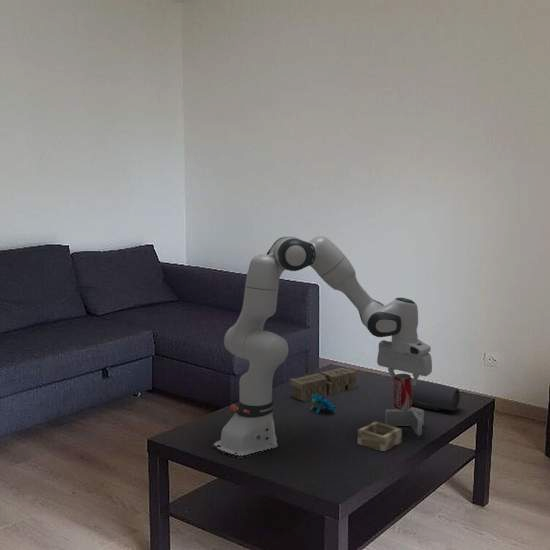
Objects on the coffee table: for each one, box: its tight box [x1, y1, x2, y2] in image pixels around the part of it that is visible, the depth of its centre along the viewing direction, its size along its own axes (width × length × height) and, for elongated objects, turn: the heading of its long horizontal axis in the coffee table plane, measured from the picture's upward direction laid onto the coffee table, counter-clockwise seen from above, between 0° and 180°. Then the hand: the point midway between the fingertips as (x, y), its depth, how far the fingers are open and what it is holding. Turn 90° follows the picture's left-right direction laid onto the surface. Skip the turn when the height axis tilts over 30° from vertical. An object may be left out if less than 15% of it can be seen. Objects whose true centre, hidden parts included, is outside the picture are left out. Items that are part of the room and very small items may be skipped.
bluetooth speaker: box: [412, 379, 461, 411], centre depth 280 cm, size 23×9×10 cm, turn 57°
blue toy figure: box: [309, 394, 336, 415], centre depth 275 cm, size 11×6×10 cm
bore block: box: [357, 420, 403, 452], centre depth 246 cm, size 11×11×5 cm
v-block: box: [384, 406, 425, 436], centre depth 259 cm, size 10×15×6 cm, turn 48°
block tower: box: [289, 367, 357, 402], centre depth 297 cm, size 8×8×29 cm
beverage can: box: [393, 373, 413, 411], centre depth 254 cm, size 6×6×12 cm
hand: (403, 382), depth 254 cm, fingers closed on beverage can, 6 cm apart
